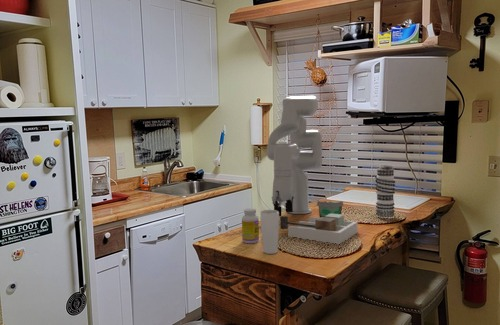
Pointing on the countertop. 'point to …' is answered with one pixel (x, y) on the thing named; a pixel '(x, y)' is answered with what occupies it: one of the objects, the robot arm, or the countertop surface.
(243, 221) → the supplement bottle
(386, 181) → the decorative candle
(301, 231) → the white tray
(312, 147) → the robot arm
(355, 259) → the countertop surface
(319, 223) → the brown block with stick
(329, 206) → the food container
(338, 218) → the sage block
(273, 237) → the drinking glass
